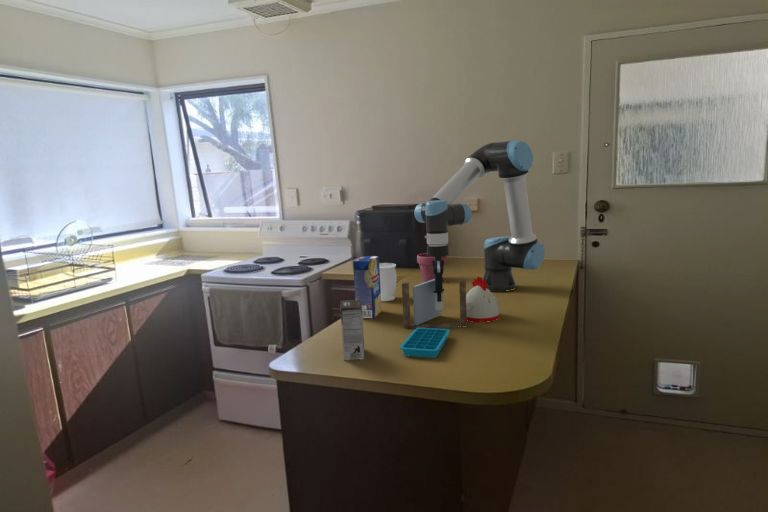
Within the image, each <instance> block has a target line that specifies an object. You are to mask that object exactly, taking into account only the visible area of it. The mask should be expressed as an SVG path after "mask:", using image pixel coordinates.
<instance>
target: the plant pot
mask: <svg viewBox="0 0 768 512" xmlns="http://www.w3.org/2000/svg"><path fill="white" fill-rule="evenodd" d="M434 260H435V259H434V257H429V256H428V255H427V252H424V253H419V254H417V256H416V263H417V264H419V265H418V266H419V269H420V273H421V277H422V281H423V282H427V281H430V280H433V279H435V274H434V272H433V265H432V261H434ZM441 260H443V261H444V264H445V263H447V256H444V257H441ZM444 268H445V265H444V266H443V270H444ZM443 274H444V273H443ZM443 274H442V276H443Z"/></svg>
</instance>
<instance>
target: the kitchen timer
mask: <svg viewBox="0 0 768 512" xmlns="http://www.w3.org/2000/svg"><path fill="white" fill-rule="evenodd" d="M482 279H483V277H480V276H477V277H476V278H474V279H473V280H474V281H471V285H472V288H470V290H469V291H468V292H466V312H467V320H468V321H473V322H472V323H476V322H486V323H488V322H487V321H492V322H494V321H493V320H496V319H498V318H499V319H500V309H499V305H498V301H499V300H498V298H497V296H495V295H494V294H493V292H490V291H489V290H488V289H487V285H488V283H486V284H485V279H483V281H482ZM499 319H498V320H499ZM468 321H467V322H468ZM496 321H497V320H496Z"/></svg>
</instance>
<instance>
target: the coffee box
mask: <svg viewBox="0 0 768 512" xmlns="http://www.w3.org/2000/svg"><path fill="white" fill-rule="evenodd" d="M339 302H340V303H339V305H340V324H341V326H340V327H341V338H342V340H341V341H342V350H343V351H342V352H343V361H344V360H346V361H348V360H347V359H359V358H365V338H364V334H365V333H364V319H363V316H362V305H361V300H355V299H347V300H340V301H339Z"/></svg>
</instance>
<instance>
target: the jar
mask: <svg viewBox="0 0 768 512" xmlns="http://www.w3.org/2000/svg"><path fill="white" fill-rule="evenodd" d="M396 267H397V264H396V263H392V262H379V268H380V288H381V302H390V301H394V300H395V299H396V297H395V293H396V290H397V280H398V278H397V272H396V271H397V270H396Z"/></svg>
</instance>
